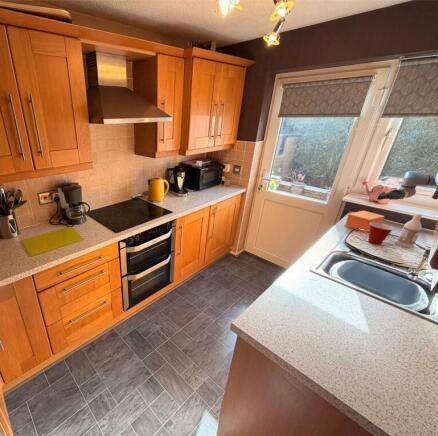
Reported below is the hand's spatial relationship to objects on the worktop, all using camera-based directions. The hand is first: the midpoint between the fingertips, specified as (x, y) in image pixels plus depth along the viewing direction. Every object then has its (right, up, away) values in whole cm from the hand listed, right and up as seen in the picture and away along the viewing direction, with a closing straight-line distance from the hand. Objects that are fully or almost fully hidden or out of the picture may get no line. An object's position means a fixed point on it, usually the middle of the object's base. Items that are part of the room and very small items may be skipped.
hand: (378, 197), depth 160 cm
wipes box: (-7, -21, +5) cm, 22 cm away
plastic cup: (-20, -30, -17) cm, 40 cm away
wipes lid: (-7, -13, +2) cm, 15 cm away
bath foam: (-5, -31, -20) cm, 37 cm away
